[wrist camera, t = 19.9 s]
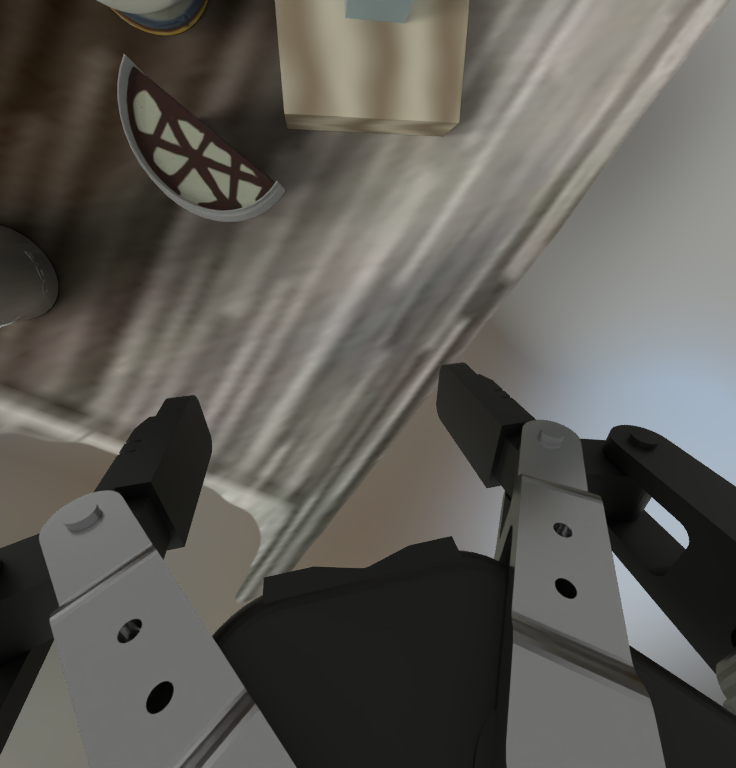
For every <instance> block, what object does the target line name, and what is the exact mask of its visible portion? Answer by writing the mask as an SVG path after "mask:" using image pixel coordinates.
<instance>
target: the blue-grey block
mask: <svg viewBox="0 0 736 768" xmlns="http://www.w3.org/2000/svg"><path fill="white" fill-rule="evenodd" d="M413 2H414V0H345V18H350V19H361V20H372V21H383V22H394V23H405V22H406V19H407V17H408V14H409V12H410V9H411V7H412V5H413Z"/></svg>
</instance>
